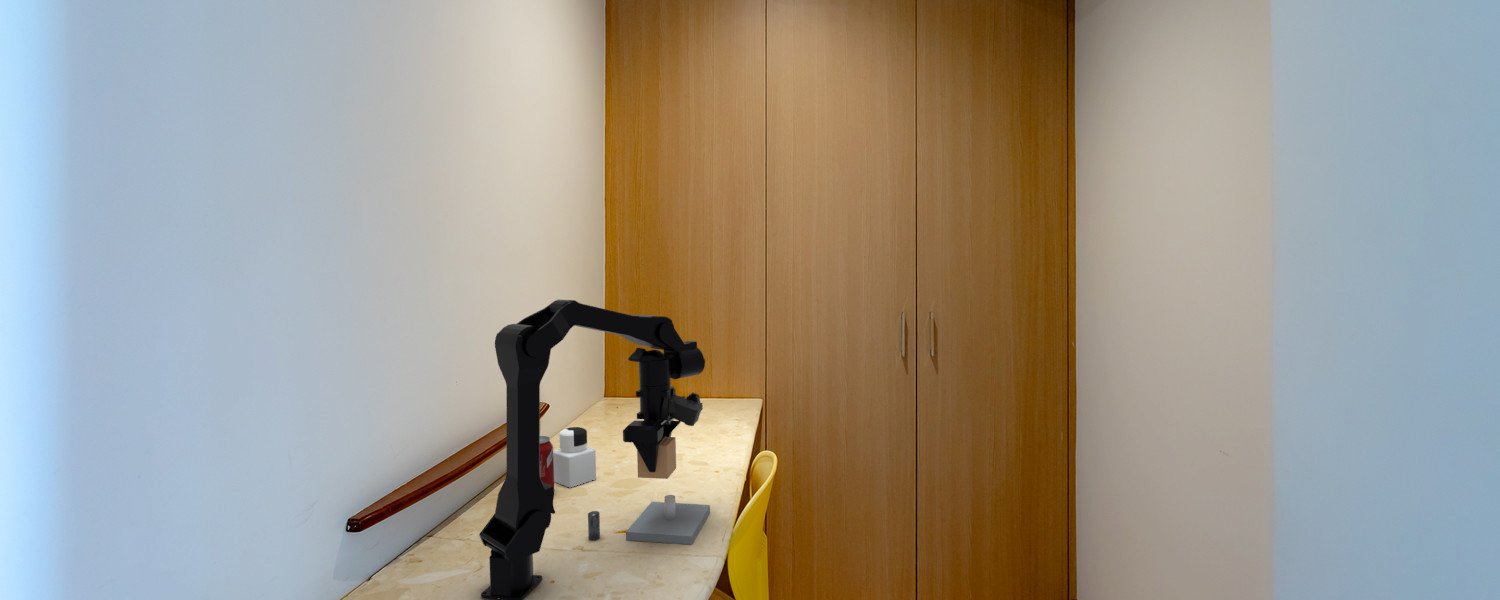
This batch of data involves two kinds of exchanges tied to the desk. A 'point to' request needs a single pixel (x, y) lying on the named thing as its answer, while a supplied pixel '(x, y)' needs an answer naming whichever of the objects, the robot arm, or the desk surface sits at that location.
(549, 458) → the soda can
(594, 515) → the dark grey cylinder
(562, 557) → the desk surface
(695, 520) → the board
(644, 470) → the brown square box
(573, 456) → the medicine bottle
